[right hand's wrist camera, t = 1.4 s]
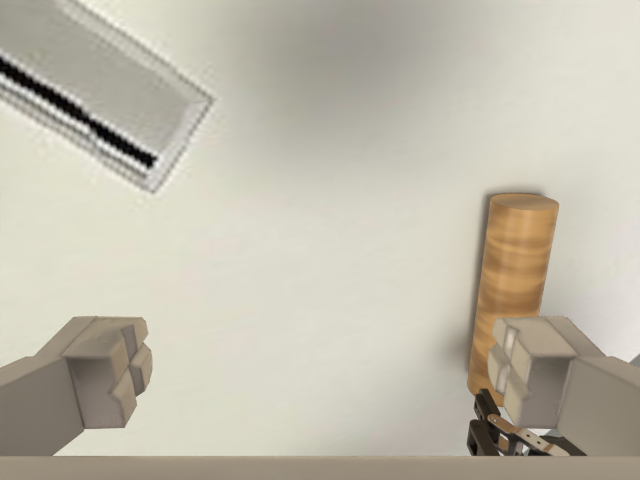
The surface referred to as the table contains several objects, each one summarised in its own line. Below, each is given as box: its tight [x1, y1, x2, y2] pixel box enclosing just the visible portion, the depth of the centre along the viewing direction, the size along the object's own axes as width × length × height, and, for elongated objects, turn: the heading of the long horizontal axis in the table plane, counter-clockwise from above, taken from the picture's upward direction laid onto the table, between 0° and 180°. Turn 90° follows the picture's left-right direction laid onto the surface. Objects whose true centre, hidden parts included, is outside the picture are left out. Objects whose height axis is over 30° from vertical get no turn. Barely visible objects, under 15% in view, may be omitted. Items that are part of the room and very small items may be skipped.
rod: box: [467, 193, 559, 407], centre depth 46 cm, size 22×6×6 cm, turn 1°
